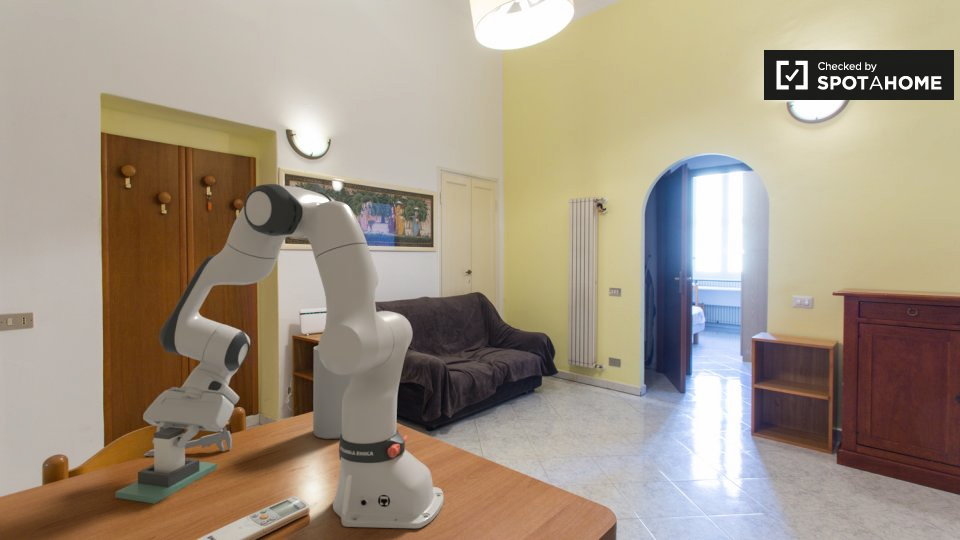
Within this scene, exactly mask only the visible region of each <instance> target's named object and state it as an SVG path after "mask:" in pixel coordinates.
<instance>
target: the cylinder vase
mask: <svg viewBox="0 0 960 540" xmlns="http://www.w3.org/2000/svg"><path fill="white" fill-rule="evenodd" d="M352 375H353V374H350V375H339V374H335V373H332V372H331V371H329V370H328V369H327V368H326V367H325V366H324V365H323V363H322V362H321V359H320V357H319V352H318V345H316V346H314V347H313V379H312V380H313V384H312V385H313V387H312V388H313V390H312V391H313V392H312V393H313V397H312V398H313V400H312V404H313V406H312V407H313V411H312V413H313V414H312V415H313V416H312V417H313V421H312V424H313V425H312V427H313V428H312V429H313V430H312V431H313V435H314V436H315V437H317V438H320V439H324V440H338V439H339V440H340V435H341V434H342V398H343V395H344V393H345V391H346V389H347V388H348V386H349V383H350V381H351V378H352Z"/></svg>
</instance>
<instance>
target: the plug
mask: <svg viewBox="0 0 960 540" xmlns="http://www.w3.org/2000/svg"><path fill="white" fill-rule="evenodd" d="M185 429H186V428H177V427H168V428H166V429H163V430H161V431H158V432H157V431H155V432H153V439H154V443H153V449H154V456H153V465H154V471H155V472H162V473H170V472H172V471H174V470H176V469H178V468H180V467H182V466H184V465H185V458H186V449H185V446H184V447H183V448H179V447H176V446H174V442H175V441H176V439H177V437H181V436H182V435H183V434H185V433H186V432H185Z"/></svg>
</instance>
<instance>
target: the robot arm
mask: <svg viewBox="0 0 960 540" xmlns="http://www.w3.org/2000/svg"><path fill="white" fill-rule="evenodd" d="M287 238H292V239H307V240H308V242H309V245H310V246H311V249H312V253H313V257H314V259H315V263H316V267H317V271H318V274H319V277H320V280H321V283H322V287H323V291H324V296H325V303H326V304H325V305H326V306H325V308H326V313H325V314H326V316H325V317H326V318H325V326H324V329H323V332H322V334H321V336H319V340H318V345H317V346H318V352H319V357H320V359H321V362H322V363H323V365H324V366H325V367H326V368H327V369H328V370H329V371H331V372H332V373H335V374H339V375H350V374H353V375H352V378H351V381H350V383H349V386H348V388H347V389H346V391H345V393H344V395H343V398H342V434H341V435H340V438H339V441H338V442H339V445H338V447H339V448H338V453H339V454H338V456H339V460H340V468H339V476H338V482H337V487H336V491H335V496H334V499H333V501H332V502H333V503H332V509H333V511H334V513H336V515H337V516H339V517H340V521H341V525H342V526H343V527H347V528H349V527H352V528H381V529H383V528H385V529H386V528H387V529H389V528H391V529H420V528H423V527H425V526H426V525H428V524H429V523H431V522H432V521H433V520H434V519H435V518H436V517H437V516H438V514H439V513H440V511H441V509H442V507H443V504H444V500H445V499H444V497H445V496H444V492H443V490H442V489H441V488H440V487H436V486H434V483H433V477H432V473H431V471H430V469H429V468H428V466H426V465H425V464H424V463H422V462H421V461H420V460H419V459H417V458H416V457H415V456H414V455H412V454H411V453H410V452H409V451H408V450H407V449H405V448H406V444H405V443H406V442H407V441H408V440H409V439H408V434H405V435H404V436H402V435H401V434H400V433H399V430H398V429H397V418H398V417H397V413H398V411H397V410H398V394H399V388H400V387H399V386H400V382H401V376H402V373H403V372H402V371H403V367H404V363H405V358H406V354H407V351H408V348H409V347H410V344H411V343H412V340H413V335H414V333H413V328H412V325H411V322H410V321H409V320H408V319H407V318H406V317H405V315H403V314H400V313H399V312H393V311H388V310H381V311H380V310H379V311H377V308H376V306H377V305H376V288H377V285H378V283H379V276H378V275H379V274H378V272H377V270H376V267H375V263H374V259H373V257H372V254H371V252H370V248H369V244H368V243H367V239H366V236H365V233H364V231H363V229H362V227H361V225H360V223H359V221H358V218H357V216H356V215H355V213H354V212H353V210H352V208H351V207H350V206H349V205H348V204H347V203H345V202H344V201H343V202H342V201H339V200H338V201H337V200H335V198H333V197H331V196H330V195H328V194H326V193H323V192H317V191H313V190H309V189H307V188H306V189H305V188H303V187H299V186H293V185H279V184H276V183H267V184H260V185H256V186H255V187H253V188H252V189H251V190H250V191H249V192H248V193H247V195H246V197H245V199H244V205H243V207H242V208H241V210H240V211H239V213H238V215H237V217H236V219H235V220H234V222H233V224H232V227H231V229H230V231H229V235H228V237H227V240H226V243H225V244H224V246H223V248H222V250H221V251H220V252H218V253H217V254H212V255H209V256H207V257H206V258H205V259H204V260H203V261H202V262H201V264H200V265H199V266H198V267H197V269H196V271H195V272H194V274H193V276H192V277H191V279H190V280H189V282H188V284H187V286H186V288H185V290H184V291H183V294H182V295H181V296H180V298H179V300H178V302H177V304H176V306H175V308H174V309H173V311H172V312H171V314H170V315H169V316H168V318H167V319H166V321H165V322H164V324H163V325H162V327H161V329H160V331H159V333H158V340H159V343H160V345H161V347H162V348H163V350H164V351H165V352H166V353H171V354H173V355H178V356H184V357H187V358H190V359H193V360H197V361H199V364H198V365H197V366H195V368H194V369H192V371H191V373H190V374H189V375H188V377H187V379H186V380H185V381H184V383H183V384H182V386H181V387H178V386H173V387H170V388H168V389H166V390H164V391H163V392H162V393H160V394H159V395H158V396H157V397H156V398H155V400H153V402H152V403H151V404H150V405H149V406H148V407H147V408H146V410H145V411H144V413H143V414H142V415H143V417H142V418H143V421H145V422H147V423H148V424H149V425H152V426H156V432H158V431H161V430H163V429H166V428H168V427H177V428H185V429H186V432H185V434H183V435H182V436H181V437H177V439H176V441H175V442H174V446H176V447H179V448H183V447H184V446H185V445H186V443H187V442H188V441H191V440H192V439H193V438H194V437H195V436H196V435H198V433H199V431H207V432H216V433H219V432H220V430H221V429H222V430H224V428H225V427H226V425H227V423H228V422H229V420H230V419H231V416H232V414H233V413H234V410H235V405H236V404H237V403H238V402H239V400H240V396H239V395H238V394H237V393H236V392H235V391H234V390H233V389H232V388H231V387H230V386H229V385H230V381H231V378H232V377H233V375H235V374H236V373H237V372H238V370H239V368H241V366H242V365H243V363H244V362H245V360H246V358H247V356H248V354H249V351H250V346H251V339H250V337H249V335H247V334H246V332H244V331H242V330H241V329H238V328H236V327H233V326H230V325H228V324H223V323H221V322H218V321H215V320H212V319H209V318H207V317H204V316H203V315H201V314H200V312H199V311H200V309H201V307H202V305H203V303H204V302H205V300H206V298H207V296H208V295H209V293H210V291H211V289H212V288H213V287H214V286H221V285H222V286H224V285H226V286H228V285H230V286H246V285H252V284H256V283H259V282H261V281H263V280H265V279H267V278H268V277H269V275H271V273H272V271H273V270H274V269H275V268H274V267H275V265H276V264H277V263H276V262H277V261H278V259H279V258H278V257H279V255H280V251H281V249H282V246H283V244H284V241H285V240H286V239H287ZM151 442H152V444H154V438H153V439H152V440H151Z"/></svg>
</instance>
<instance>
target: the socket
mask: <svg viewBox="0 0 960 540" xmlns="http://www.w3.org/2000/svg"><path fill="white" fill-rule="evenodd" d="M217 465H218V464H217V463H213V462H207V461H200V459H195V458H186V457H185V465H184V466H182V467H180V468H178V469H176V470H174V471H172V472H170V473H162V472H155V471H154V464H151V465H149V466H147V467H145V468H143V469H141V470H139V471H137V481H135V482H133V483H130V484H129V485H127V486H125V487H123V488H121V489H118V490H116V491H115V498H116V499H123V500H128V501H129V500H130V501H137V502H143V503H147V504H156V503H158V502H160V501H162V500H163V499H165V498H167V497H169V496H171V495H173V494H175V493H176V492H178V491H179V490H182V489H183V488H185V487H186V486H187V487H188V485H189V486H190V484H192V483H194V482H196V481H198V480H199V479H202V478H203V477H205V476H206V475H208V474H210V473H211V472H213V471H216V470H217V469H218V466H217Z"/></svg>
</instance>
